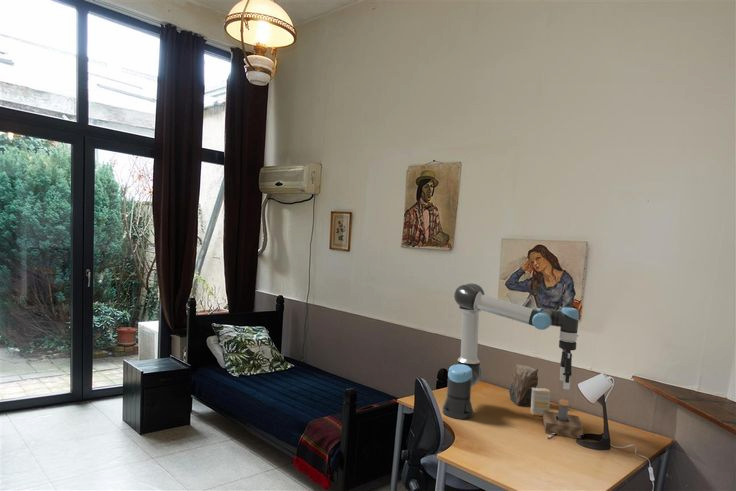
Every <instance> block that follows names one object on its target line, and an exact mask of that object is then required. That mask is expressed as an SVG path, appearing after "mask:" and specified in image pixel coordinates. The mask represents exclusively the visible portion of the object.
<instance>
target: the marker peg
mask: <svg viewBox="0 0 736 491" xmlns="http://www.w3.org/2000/svg"><path fill="white" fill-rule="evenodd" d="M569 403H570V402H569V400H567V399H564V398H560V399H558V412H557V413H558V421H564V422H567V415H569V413H568V412H569Z"/></svg>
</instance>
